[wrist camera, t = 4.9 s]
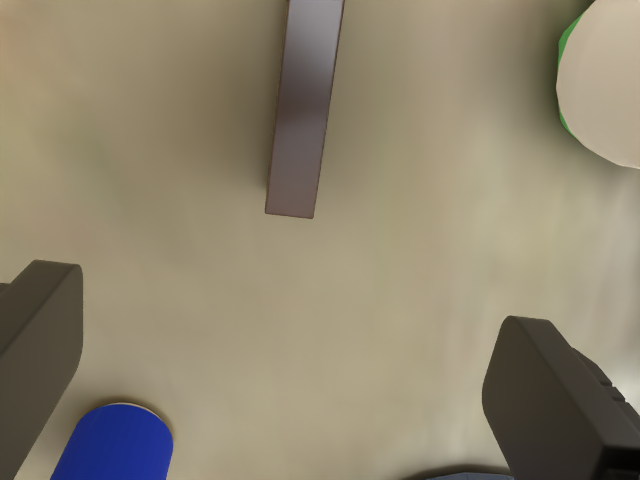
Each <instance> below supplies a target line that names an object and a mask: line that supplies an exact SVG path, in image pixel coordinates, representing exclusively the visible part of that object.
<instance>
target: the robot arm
mask: <svg viewBox="0 0 640 480" xmlns="http://www.w3.org/2000/svg"><path fill="white" fill-rule="evenodd" d="M82 347H83V273H82V269H81V267H80V265H78V264H70V263H61V262H53V261H44V260H34V261H32V262H31V263H30V264H29V265H28V266H27V267H26V268H25V269H24V270H23V271H22V272H21V273H20V274H19V275H18V276H17V277H16V278H15V279H14V280H13V281H12V282H11V283H10V284H6V283H0V480H13V479H14V477H15V476H16V474H17V472H18V470H19V469H20V467H21V465H22V464H23V462H24V460H25V458H26V457H27V455H28V453H29V451H30V450H31V448H32V446H33V445H34V443H35V441H36V439H37V438H38V436H39V434H40V433H41V431H42V429H43V427H44V426H45V424H46V422H47V421H48V419H49V417H50V415H51V414H52V412H53V410H54V409H55V407H56V405H57V403H58V402H59V400H60V398H61V396H62V395H63V393H64V391H65V390H66V388H67V386H68V384H69V383H70V381H71V379H72V378H73V376H74V374H75V372H76V370H77V367H78V365H79V361H80V357H81V353H82ZM482 405H483V410H484V414H485V416H486V418H487V421H488V423H489V425H490V427H491V429H492V431H493V434H494V436H495V438H496V440H497V442H498V444H499V447H500V449H501V451H502V453H503V455H504V457H505V459H506V462H507V464H508V466H509V468H510V470H511V472H512V475H513V477H514V479H515V480H640V416H639V415H638V413H637V412H636V411H635V410H634V409H633V407H632V406H631V405H630V404H629V403H627V402H625V398H624V397H623V395H622V394H621V393H620V392H619V391H618V389H617V388H616V387H612V382H611V381H610V380H609V379H608V377H607V376H606V375H605V374H604V373H603V371H602V370H601V369H600V368H599V367H598V365H597V364H595V363H594V362H592V361H591V360H590V359H588V358H587V357H586V356H584V355H583V354H581V353H580V352H579V351H577V350H576V349H575V348H572V347H571V346H570V345H569V344H568V342H567V341H566V340H565V339H564V337H563V336H562V335H561V334H560V332H559V331H558V330H557V329H556V327H555V326H554V325H553V324H552V323H551V322H550V321H549V320H544V319H536V318H527V317H518V316H508V317H507V318H506V319H505V320H504V321H503V323H502V325H501V328H500V331H499V334H498V338H497V341H496V344H495V347H494V350H493V353H492V357H491V360H490V363H489V366H488V369H487V373H486V376H485V379H484V383H483V388H482Z"/></svg>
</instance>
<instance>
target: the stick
mask: <svg viewBox="0 0 640 480" xmlns="http://www.w3.org/2000/svg"><path fill="white" fill-rule="evenodd" d="M344 3H345V0H287V8H286V17H285V26H284V35H283V44H282V53H281V62H280V72H279V81H278V90H277V99H276V108H275V117H274V126H273V135H272V145H271V154H270V163H269V172H268V181H267V190H266V202H265V213H266V214H272V215H281V216H290V217H299V218H308V219H313V217H314V210H315V203H316V196H317V189H318V183H319V176H320V169H321V162H322V155H323V148H324V141H325V134H326V127H327V120H328V113H329V106H330V100H331V93H332V86H333V79H334V72H335V65H336V58H337V51H338V44H339V37H340V30H341V23H342V17H343V10H344Z"/></svg>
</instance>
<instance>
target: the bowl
mask: <svg viewBox="0 0 640 480" xmlns="http://www.w3.org/2000/svg"><path fill="white" fill-rule="evenodd" d="M424 480H515V479H514V477H511V476H508V475H503V474H488V473H472V472H466V473H465V472H462V473H457V474H451V475H446V476H440V477H435V478H429V479H424Z"/></svg>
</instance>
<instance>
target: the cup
mask: <svg viewBox="0 0 640 480" xmlns="http://www.w3.org/2000/svg"><path fill="white" fill-rule="evenodd" d="M558 45H559V56H558V77H557V84H556V91H557V96H558V101H559V113H560V120H561V122H562V124H563V125H564V127H565V128H566V130H567V131H568V132H569V133H570V134H571V135H572V136H573V137H575V138H576V139H577V140H578V141H579V142H581V143H582V144H583V146H585V147H586V148H588V149H590V150H591V151H593V152H594V153H596V154H598V155H599V156H601V157H603V158H605V159H607V160H609V161H611V162H613V163H615V164H617V165H620V166H626V167H632V168H638V169H640V0H595V2H594V3H593V4H592V5H591V6H590V7H589V8H588V9H587V10H586V11H585V12H584V13H582V14H581V15H580V16H579V17H578V18H577V19H576V20H575V21H574V22H573V23H572V24H571V25H570V26H569V27H568V28H567V29H566V30H565V31H564V32H563V34H562V36H561V38H560V40H559V42H558Z"/></svg>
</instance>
